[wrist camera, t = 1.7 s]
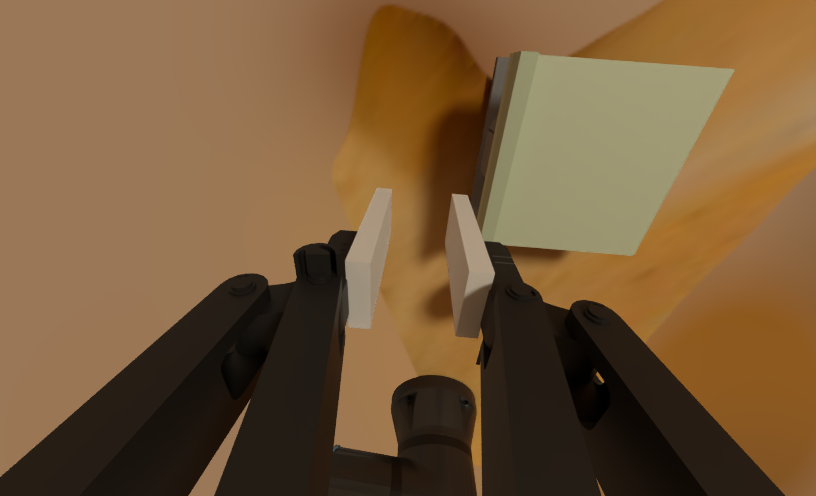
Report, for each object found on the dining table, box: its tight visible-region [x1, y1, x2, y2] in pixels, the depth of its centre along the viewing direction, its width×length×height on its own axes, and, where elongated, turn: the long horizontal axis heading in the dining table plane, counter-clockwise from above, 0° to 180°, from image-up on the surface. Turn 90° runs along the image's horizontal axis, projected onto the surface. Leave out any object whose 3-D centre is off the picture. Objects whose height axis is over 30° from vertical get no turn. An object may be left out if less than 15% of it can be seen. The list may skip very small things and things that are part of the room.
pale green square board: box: [476, 51, 735, 256], centre depth 25 cm, size 16×16×3 cm
